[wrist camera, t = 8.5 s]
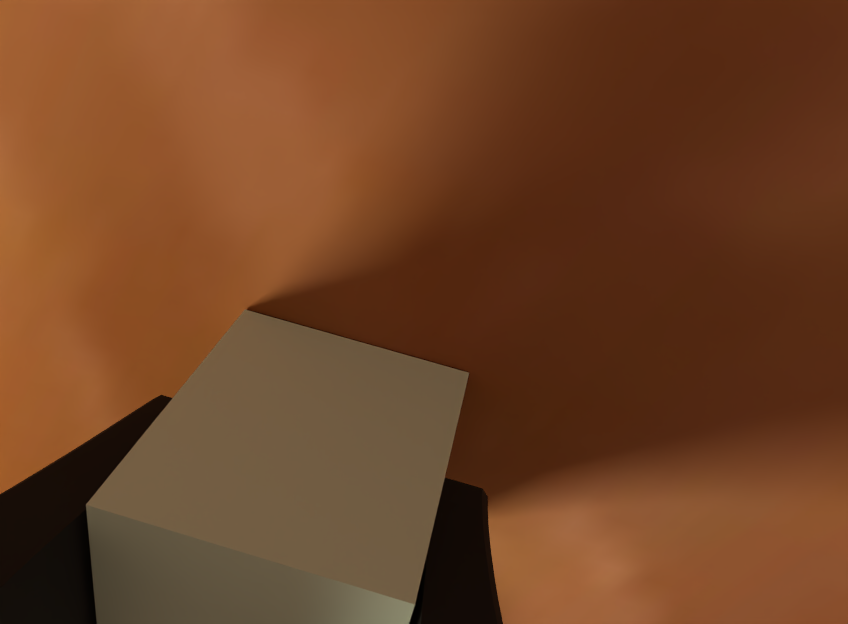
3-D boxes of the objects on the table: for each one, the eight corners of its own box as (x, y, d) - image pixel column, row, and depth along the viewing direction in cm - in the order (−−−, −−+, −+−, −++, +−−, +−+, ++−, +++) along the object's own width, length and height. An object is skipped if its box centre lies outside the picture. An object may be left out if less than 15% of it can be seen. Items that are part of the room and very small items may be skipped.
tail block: (422, 527, 12) (362, 769, 9) (233, 471, 12) (103, 687, 9) (468, 372, 10) (414, 604, 7) (244, 310, 10) (85, 504, 7)
